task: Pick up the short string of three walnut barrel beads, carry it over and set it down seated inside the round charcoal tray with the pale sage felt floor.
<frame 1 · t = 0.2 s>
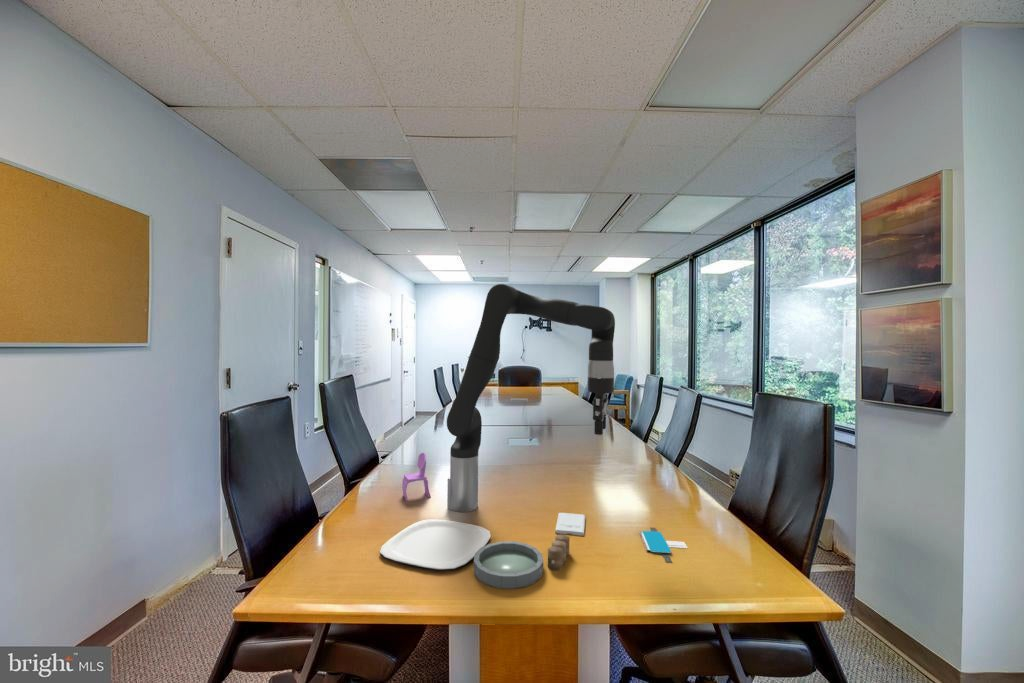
hand: (600, 431, 121), 29 cm above the table, fingers open, 8 cm apart
bead string: (558, 559, 104), on the table
plate: (437, 547, 111), on the table
round tray: (508, 569, 100), on the table
blue flat panel: (662, 546, 113), on the table
toy chair: (416, 497, 147), on the table
external hard drive: (570, 527, 125), on the table
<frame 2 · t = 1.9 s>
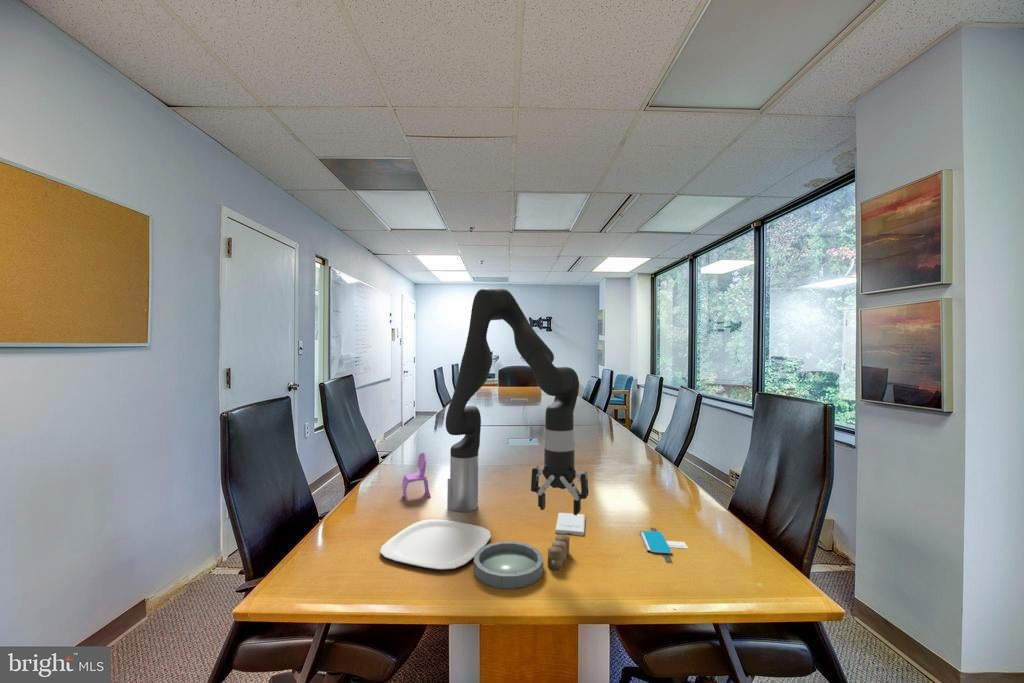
hand: (559, 511, 104), 12 cm above the table, fingers open, 8 cm apart
nothing on the table moved.
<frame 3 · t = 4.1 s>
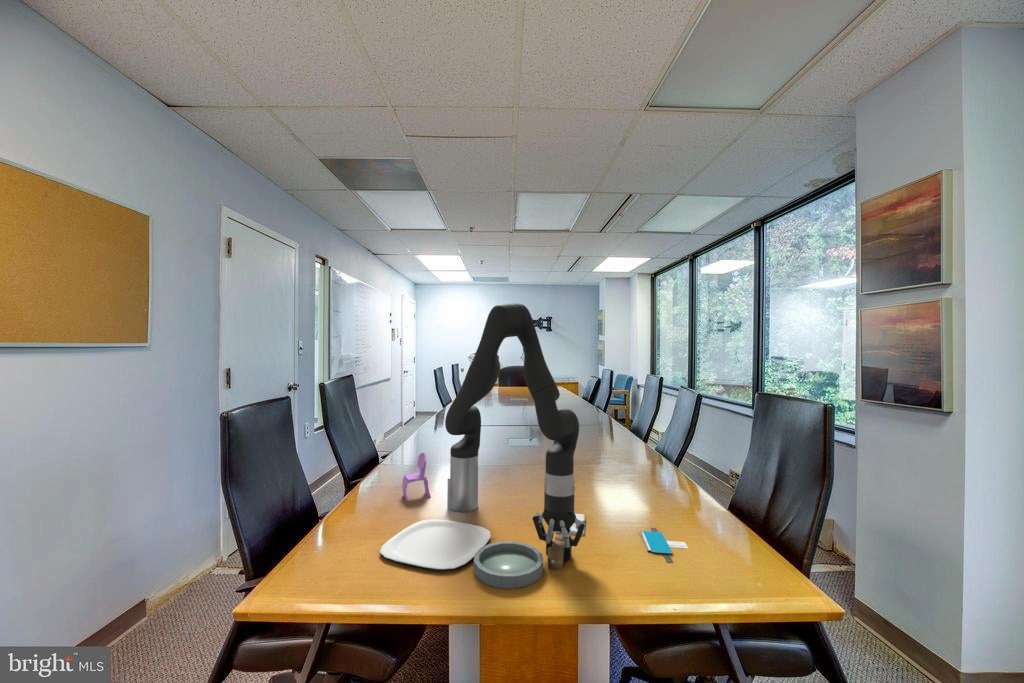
hand: (558, 558, 104), 0 cm above the table, fingers closed on bead string, 3 cm apart
bead string: (558, 559, 104), on the table, touching gripper
everything else where it was.
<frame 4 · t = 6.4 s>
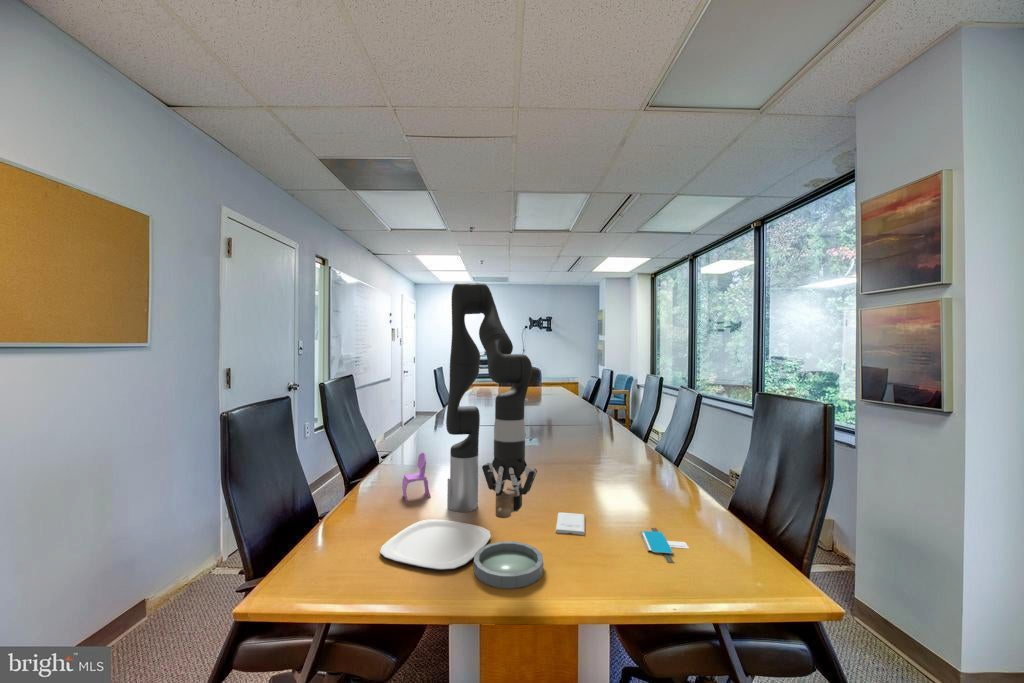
hand: (508, 508, 100), 14 cm above the table, fingers closed on bead string, 3 cm apart
bead string: (508, 509, 100), point 14 cm above the table, touching gripper
everything else where it was.
when the fingers open (2 cm above the table, at t = 9.2 s): bead string drops 1 cm, resting on round tray.
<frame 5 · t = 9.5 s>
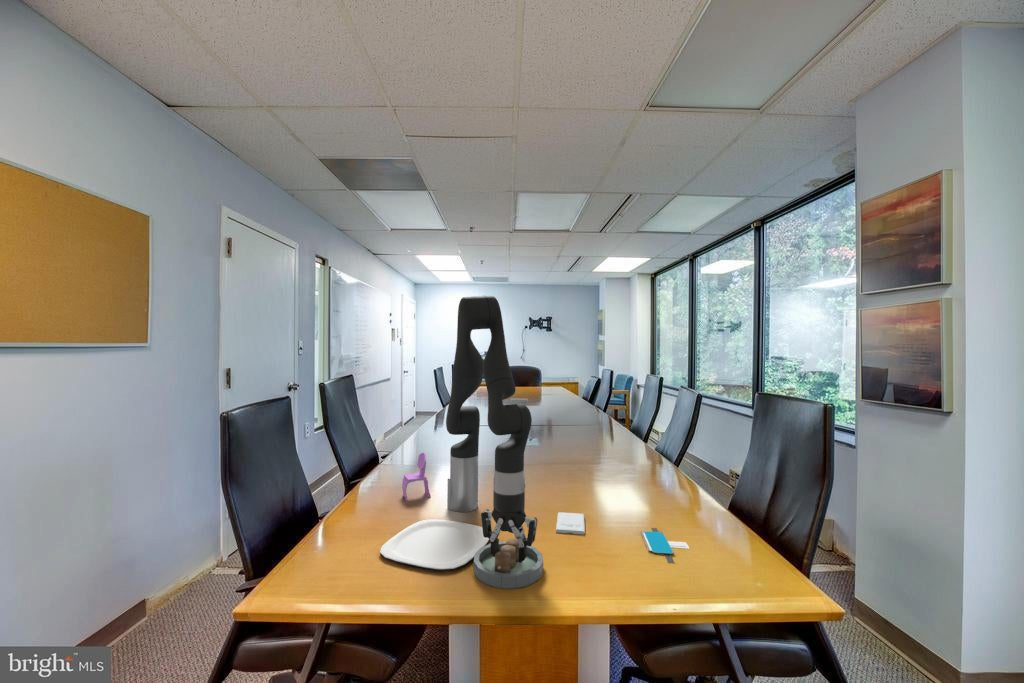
hand: (508, 558, 100), 3 cm above the table, fingers open, 6 cm apart
bead string: (508, 565, 100), point 1 cm above the table, touching round tray
everything else where it was.
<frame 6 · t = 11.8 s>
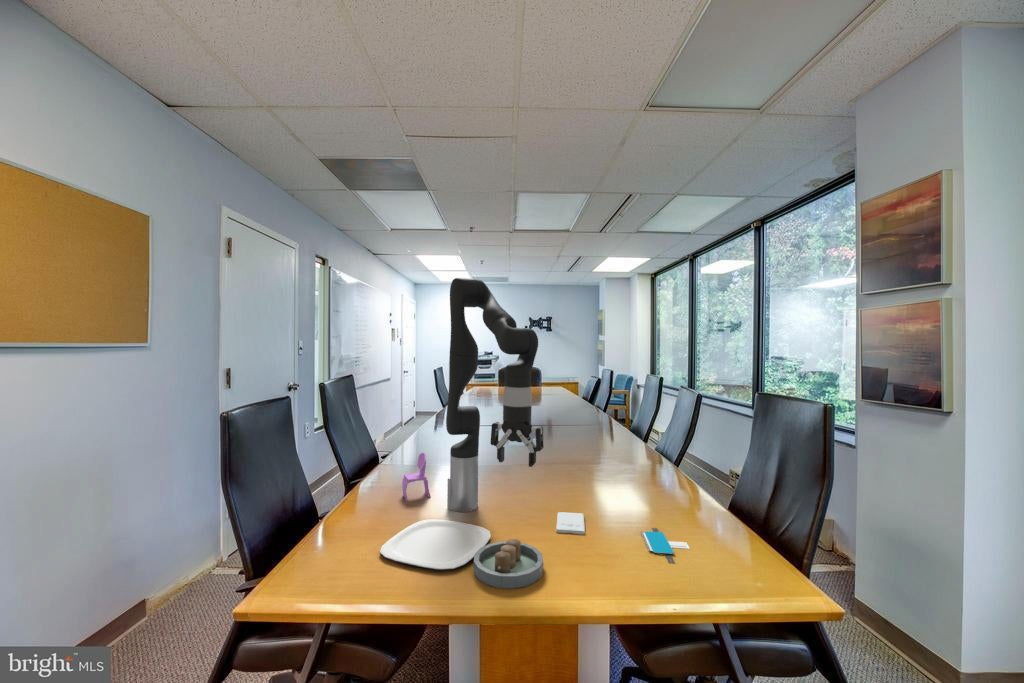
hand: (516, 463, 111), 22 cm above the table, fingers open, 8 cm apart
nothing on the table moved.
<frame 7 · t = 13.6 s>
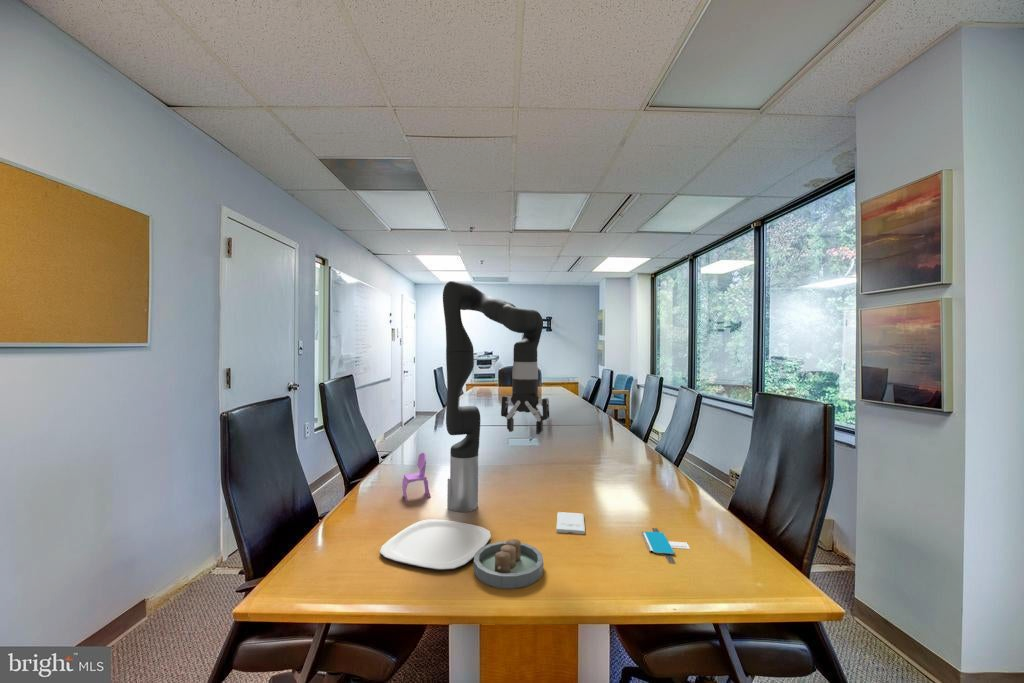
hand: (524, 432, 122), 28 cm above the table, fingers open, 8 cm apart
nothing on the table moved.
at the end: bead string 0.1 cm from the round tray (horizontally); bead string point 0.9 cm above the table; the gripper is holding nothing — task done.
